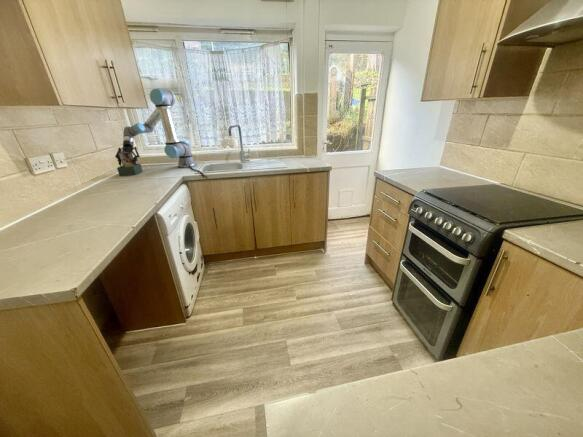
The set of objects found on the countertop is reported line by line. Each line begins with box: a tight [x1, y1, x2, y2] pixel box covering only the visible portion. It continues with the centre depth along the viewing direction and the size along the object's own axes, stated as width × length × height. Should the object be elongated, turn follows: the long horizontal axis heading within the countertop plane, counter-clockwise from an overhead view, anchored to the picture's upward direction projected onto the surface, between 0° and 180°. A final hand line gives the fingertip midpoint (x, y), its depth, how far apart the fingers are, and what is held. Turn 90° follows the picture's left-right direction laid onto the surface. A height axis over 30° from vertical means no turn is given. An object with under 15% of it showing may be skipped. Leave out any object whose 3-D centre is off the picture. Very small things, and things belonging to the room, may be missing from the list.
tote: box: [116, 163, 143, 177], centre depth 209 cm, size 15×13×7 cm
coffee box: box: [119, 151, 135, 167], centre depth 206 cm, size 9×6×16 cm
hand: (127, 164), depth 204 cm, fingers closed on coffee box, 11 cm apart
